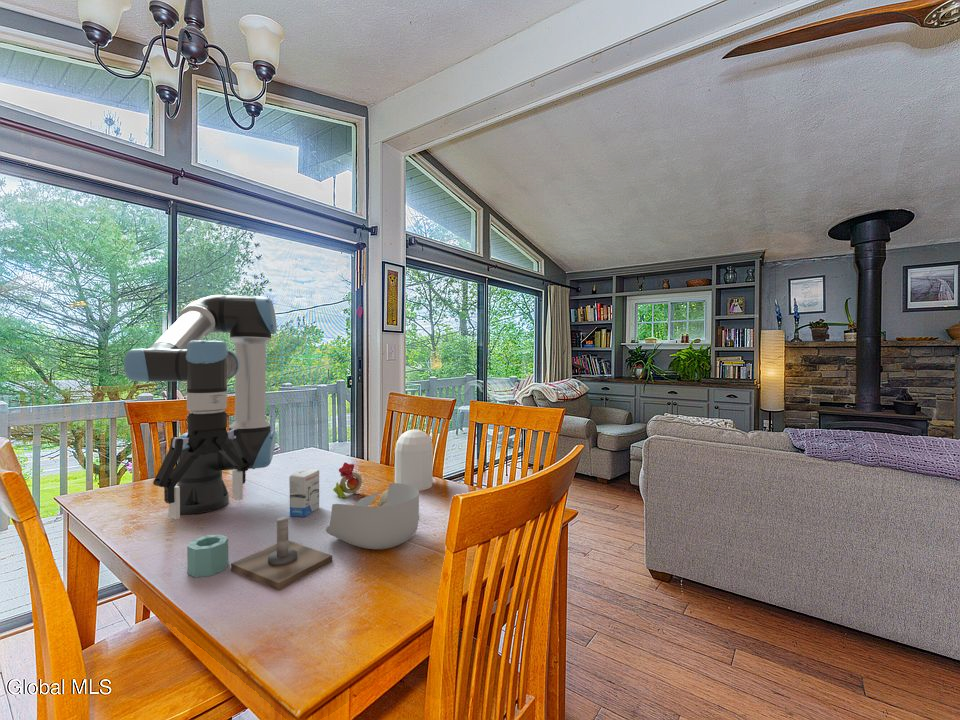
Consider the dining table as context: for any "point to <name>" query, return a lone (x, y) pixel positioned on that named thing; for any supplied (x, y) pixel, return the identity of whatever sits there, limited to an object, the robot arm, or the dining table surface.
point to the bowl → (377, 519)
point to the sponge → (383, 498)
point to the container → (414, 460)
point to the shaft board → (281, 561)
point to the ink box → (304, 492)
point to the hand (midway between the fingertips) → (207, 507)
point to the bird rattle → (351, 483)
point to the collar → (207, 555)
